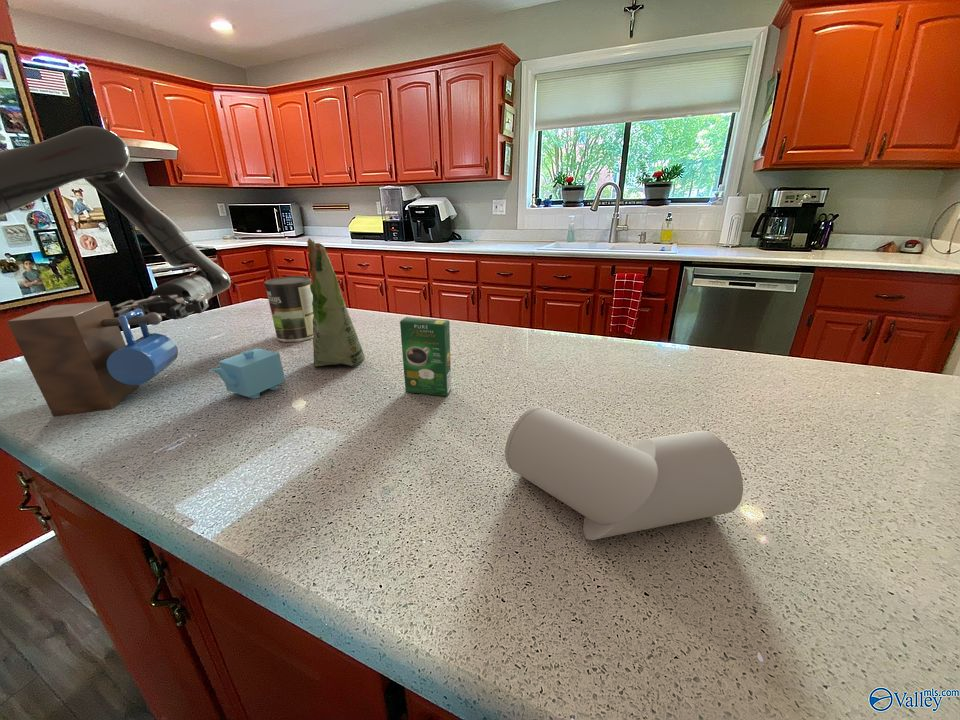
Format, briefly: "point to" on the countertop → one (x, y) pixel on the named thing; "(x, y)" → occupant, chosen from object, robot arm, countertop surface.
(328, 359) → the pouch
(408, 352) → the coffee box
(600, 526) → the bent grey cylinder
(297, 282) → the coffee can
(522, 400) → the countertop surface
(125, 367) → the blue mug
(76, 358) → the peg box
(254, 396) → the teapot
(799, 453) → the countertop surface
